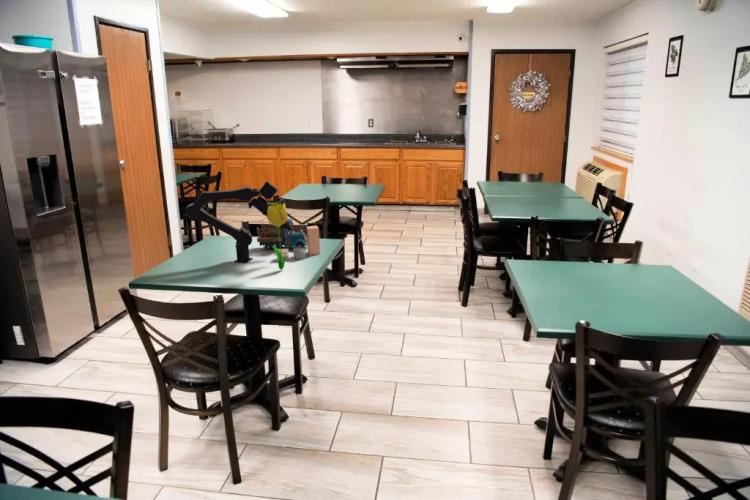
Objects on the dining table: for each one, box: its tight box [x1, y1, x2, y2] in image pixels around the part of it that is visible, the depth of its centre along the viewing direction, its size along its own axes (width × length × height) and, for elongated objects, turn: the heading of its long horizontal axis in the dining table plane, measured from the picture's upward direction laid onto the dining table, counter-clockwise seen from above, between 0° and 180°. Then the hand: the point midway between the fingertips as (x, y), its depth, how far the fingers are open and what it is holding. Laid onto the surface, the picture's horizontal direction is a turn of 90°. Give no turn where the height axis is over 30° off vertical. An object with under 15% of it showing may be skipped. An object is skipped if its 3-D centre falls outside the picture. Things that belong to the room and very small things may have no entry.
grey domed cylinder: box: [292, 247, 307, 261], centre depth 251 cm, size 6×6×4 cm
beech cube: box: [278, 248, 290, 262], centre depth 249 cm, size 4×4×4 cm
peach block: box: [306, 225, 321, 256], centre depth 257 cm, size 5×5×13 cm
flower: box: [266, 202, 289, 272], centre depth 229 cm, size 9×8×30 cm
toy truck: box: [256, 218, 308, 251], centre depth 267 cm, size 11×25×15 cm, turn 88°
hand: (290, 227), depth 251 cm, fingers open, 9 cm apart
